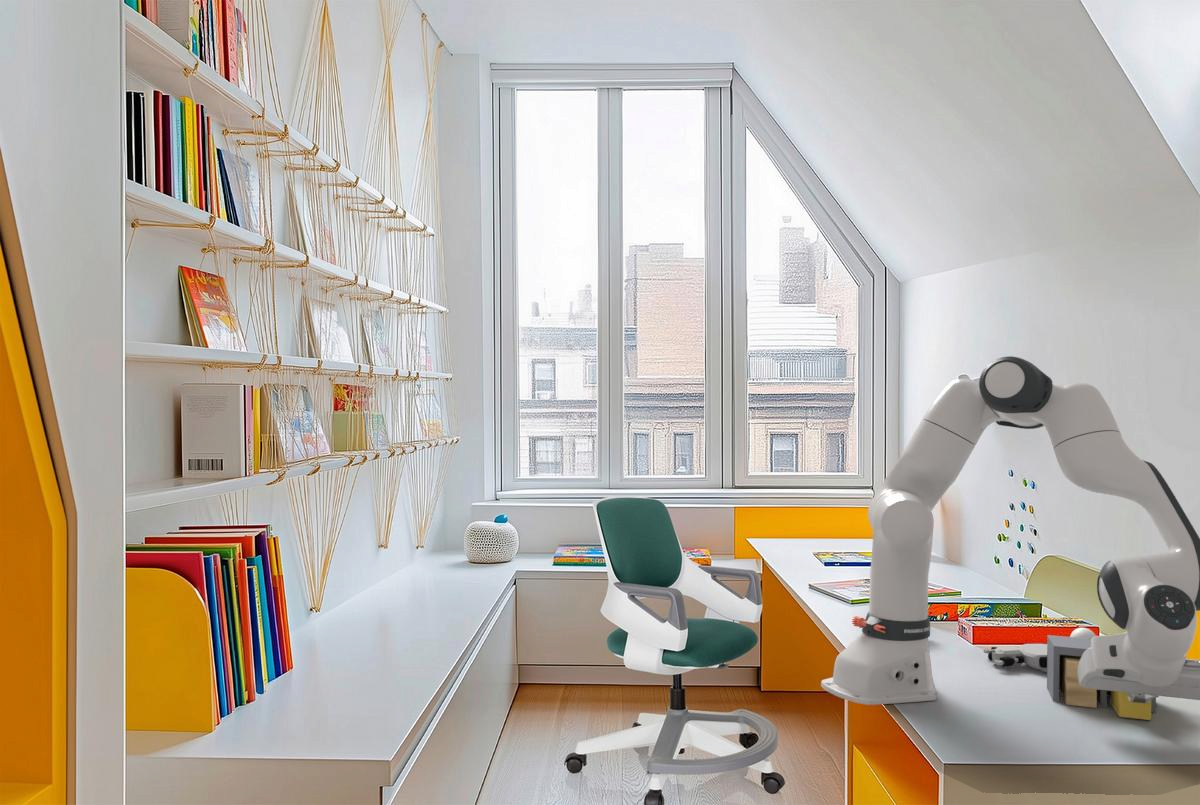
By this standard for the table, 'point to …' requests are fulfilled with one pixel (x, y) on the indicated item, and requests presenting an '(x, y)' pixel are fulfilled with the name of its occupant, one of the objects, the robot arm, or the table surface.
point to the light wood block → (1075, 684)
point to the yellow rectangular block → (1130, 706)
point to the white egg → (1082, 633)
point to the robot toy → (1019, 656)
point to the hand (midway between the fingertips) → (1137, 699)
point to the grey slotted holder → (1072, 648)
